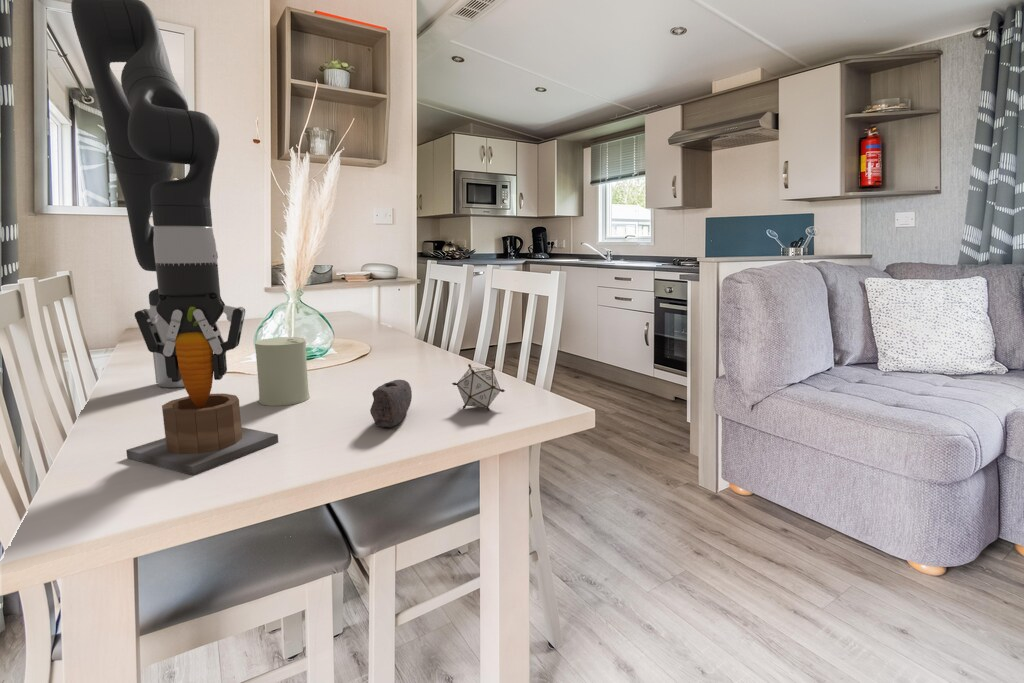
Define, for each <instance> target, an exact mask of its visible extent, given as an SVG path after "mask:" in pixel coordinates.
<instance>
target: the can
mask: <svg viewBox="0 0 1024 683" xmlns="http://www.w3.org/2000/svg"><path fill="white" fill-rule="evenodd" d="M306 344H307V340H306V339H305V338H304V337H295V336H294V337H293V336H289V337H287V336H285V337H284V336H283V337H272V338H270V337H269V338H264V339H259V340H257V341H255V342H254V349H255V357H256V358H255V359H256V371H257V383H258V403H259V404H261V405H264V406H269V407H278V406H279V407H282V406H290V405H291V406H292V405H295V404H300V403H301V404H302V403H303V402H306V401H307V400H309V399H310V396H311V395H310V392H309V391H310V390H309V379H308V364H307V363H308V362H307V347H306V346H307V345H306Z"/></svg>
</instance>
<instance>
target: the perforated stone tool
mask: <svg viewBox="0 0 1024 683" xmlns="http://www.w3.org/2000/svg"><path fill="white" fill-rule="evenodd" d="M371 394H372V398H373V400H372V405H371V407H370V409H369V411H370V415H371V417H372V420H373V421H374V424H375V425H376V426H379V427H380V428H393V427H395V426H397V425H398V424H399V423H400V422H402V420H403V419H404V418H405V416H406V414H407V413H408V410H409V409H410V406H411V402H412V399H413V397H412V395H413V394H412V387H411V385H410V383H409V382H408V381H407V380H405V379H395V380H390V381H388V382H386V383H383V384H381V385H379V386H378V387H377V388H376V389H375V390H373V391H372V392H371Z"/></svg>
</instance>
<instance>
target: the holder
mask: <svg viewBox="0 0 1024 683" xmlns="http://www.w3.org/2000/svg"><path fill="white" fill-rule="evenodd" d="M240 409H241V408H240V399H239V397H238V396H237V395H236V394H229V393H210V395H209V398H208V400H207V402H206V404H205V406H204V407H203V408H202V409H200V408H198V407H197V406H196V405H195V404H194V403H193V401H192V400H191V398H190V397H189V395H188V396H184V397H181V398H176V399H172V400H169V401H168V402H166V403H164V404H162V405H161V410H162V417H163V427H164V428H163V429H164V438H159V439H156V440H153V441H150V442H147V443H144V444H140V445H138V446H133V447H132V448H128V449H126V457H127V459H129V460H134V461H137V462H140V463H143V464H144V463H146V464H148V465H152V466H157V467H160V468H164V469H168V470H172V471H175V472H180V473H184V474H187V475H189V476H190V475H191V476H194V475H195V476H196V475H198V474H200V473H203V472H206V471H209V470H210V469H213V468H215V467H218V466H220V465H223V464H226V463H228V462H231V461H233V460H235V459H238V458H242V457H243V456H246V455H249V454H251V453H254V452H256V451H259V450H261V449H264V448H266V447H269V446H271V445H274V444H276V443H279V434H277V433H273V432H267V431H264V430H263V431H262V430H259V429H257V430H256V429H252V428H248V427H242V421H241V420H242V419H241V410H240Z"/></svg>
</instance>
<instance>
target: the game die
mask: <svg viewBox="0 0 1024 683" xmlns="http://www.w3.org/2000/svg"><path fill="white" fill-rule="evenodd" d="M495 369H496V365H492V367H491V368H485V367H484V368H483V367H472V364H470V363H468V369H467V371H466V372H465V373H464V375H463V376H462V377H461V378H460V379H459V380H458V381H457V383H456V382H452V383H451V384H452V385H453V386H457V389H458V391H459V394H460V396H461V399H462V400H463V403H464V405H463V406H462V410H465V409H466V408H467V407H477V408H485V409H486V411H488V412H491V411H490V410H491V409H490V407H489V406H490V405H491V404H492V403H493V401H494V400H495V399H496V398H497V397H498V395H499V394H500V392H502V393H504V392H506V390H505V389H504V388H501V387H500V384H499V382H498V379H497V377H496V375H495V372H494V370H495Z"/></svg>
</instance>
